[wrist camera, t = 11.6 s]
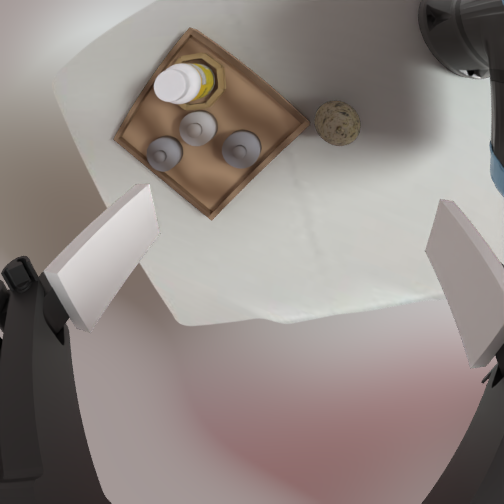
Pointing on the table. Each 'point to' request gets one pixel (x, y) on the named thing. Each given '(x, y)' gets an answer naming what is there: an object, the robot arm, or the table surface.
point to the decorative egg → (337, 123)
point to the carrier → (210, 128)
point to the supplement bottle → (184, 83)
